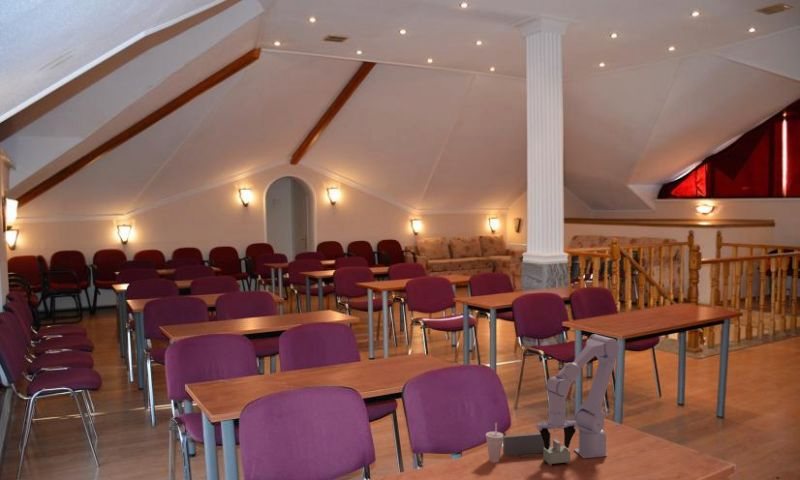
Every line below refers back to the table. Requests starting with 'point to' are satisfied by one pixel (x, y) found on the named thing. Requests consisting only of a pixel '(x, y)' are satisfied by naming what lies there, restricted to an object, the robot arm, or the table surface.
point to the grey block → (556, 454)
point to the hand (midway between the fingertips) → (556, 447)
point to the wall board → (523, 445)
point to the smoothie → (494, 445)
